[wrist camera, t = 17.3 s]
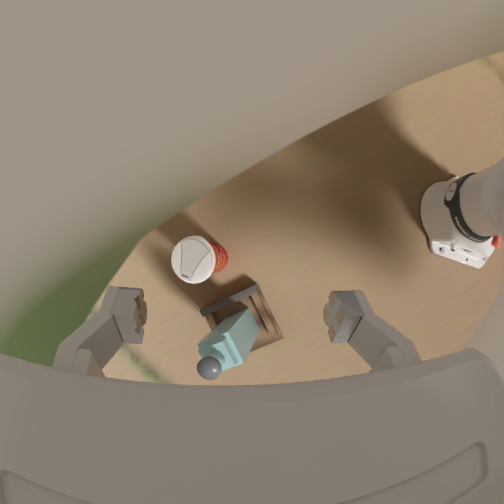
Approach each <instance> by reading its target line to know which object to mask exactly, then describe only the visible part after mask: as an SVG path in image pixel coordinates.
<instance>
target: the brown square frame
mask: <svg viewBox="0 0 504 504" xmlns="http://www.w3.org/2000/svg"><path fill="white" fill-rule="evenodd" d="M247 308H249V309H250V311H251V313H252V315H253V317H254V319H255V321H256V323H257V325H258V327H259V329H260V331H259V333H258V335H257V337H256V340H255V342H254V344H253V346H252V348H251V350H250V352H251V351H254V350H256V349H259V348H261V347H263V346H266V345H268V344H271V343H273V342H275V341H278V340H280V339H283V336H282V334H281V331H280V329H279V327H278V325H277V323H276V321H275V319H274V317H273V315H272V313H271V311H270V309H269V307H268V305H267V303H266V301H265V298H264V296H263V294H262V292H261V290H260V288H259V286H258V284H255V285H253V286H250V287H248V288H246V289H244V290H242V291H240V292H238V293H235V294H233V295H231V296H229V297H227V298H224V299H222V300H220V301H218V302H216V303H214V304H211V305H209V306H207V307H205V308H203V309H201V310H200V312H201V314H202V316H206V317H207V319H208V321H209V323H210V325H211V327H212V329H214V328H215V327H217V326H218V325H219V324H220V323H221V322H222V321H223V320H224V319H225V318H226V317H228V316H231V315H233V314H235V313H238V312H240V311H242V310H244V309H247Z"/></svg>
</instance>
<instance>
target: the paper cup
mask: <svg viewBox="0 0 504 504" xmlns="http://www.w3.org/2000/svg"><path fill="white" fill-rule="evenodd" d="M227 260H228V256H227V253H226V251H225V249H224V248H223V247H221V246H220V245H217V244H214V243H211V242H208V241H206V240H205V239H204V238H203V237H200V236H195V235H193V236H190V237H186V238H184V239H182V240H181V241H180V242H178V244H177V245H176V246H175V248H174V250H173V252H172V256H171V263H172V267H173V270H174V272H175V273H176V274H177V276H178V277H179V278H180V279H182V280H183V281H185V282H188V283H192V284H194V283H200V282H203V281H205V280H206V279H207V278H209V276H211V275H213V274H215V273H217V272H218V271H220V270H222V269H223V268H224V267H225V266H226V264H227Z"/></svg>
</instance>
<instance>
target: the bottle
mask: <svg viewBox="0 0 504 504" xmlns="http://www.w3.org/2000/svg"><path fill="white" fill-rule="evenodd" d="M259 331H260V329H259V327H258V325H257V323H256V321H255V319H254V317H253V315H252V313H251V311H250V309H249V308H247V309H244V310H242V311H240V312H238V313H235V314H233V315H231V316H228V317H226V318H225V319H224V320H223V321H222V322H221V323H220V324H219V325H218V326H217V327H215V328H214V329H213V330H212V331H211V332H210V333H209V334H208V335H207V336H206V337H205V338H203V339H202V340H201V341H200V342H199V343H198V344H197V345H198V347H199V350H198V352H199V354H200V356H201V357H202V359H201V360H200V361H199V362H198V364H197V371H198V373H199V375H200V376H201V377H203V378H204V379H207V380H213V379H215V378H217V377H218V375H219V374H220V372H221V371H224V370H227V369H229V368H232V367H235V366H238V365H240V364H243V363H244V362H245V360H246V358H247V356H248V354H249V352H250V350H251V348H252V346H253V344H254V342H255V340H256V337H257V335H258V333H259Z"/></svg>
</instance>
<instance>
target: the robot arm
mask: <svg viewBox="0 0 504 504" xmlns="http://www.w3.org/2000/svg"><path fill="white" fill-rule="evenodd" d="M421 219H422V223H423V226H424V229H425V231H426V233H427V235H428V237H429V244H430V249H431V252H432V253H434V254H436V255H439V256H442V257H445V258H448V259H451V260H454V261H457V262H459V263H462V264H465V265H468V266H471V267H473V268H477V269H478V268H481V267H482V266H483V265H484V263H485V262H486V261H487V259H488V257H489V256H490V255H491V254H492V252H493V250H494V249H495V247H496V248H499V247H500V241H501V240H502V243H503V245H504V158H503V159H502V160H500V161H499V162H497V163H496V164H494V165H492V166H491V167H488V168H486V169H484V170H482V171H480V172H478V173H469V174H467V175H465V176H463V177H458V176H456V177H453V178H451V179H450V180H448V181H442V182H437V183H434V184H432V185H431V186H430V187H429V188H428V189H427V190H426V192H425V193H424V195H423V198H422V202H421ZM439 248H441V251H439ZM483 258H484V259H483ZM143 298H144V292H143V289H141V288H128V287H114V286H109V287H108V288H107V291H106V293H105V296H104V299H103V302H102V305H101V307H100V310H99V313H98V314H95V315H93V316H92V317H91V318H90V319H89V320H87V321H86V322H85V323H84V324H83V325H81V326H80V327H79V328H78V329H77V330H75V331H74V332H73V333H72V334H71V335H70V336H68V337H67V338H66V339H65V340H64V341H63V342H62V343H60V345H59V347H58V350H57V353H56V356H55V359H54V362H53V365H52V367H48V366H44V365H40V364H36V363H31V362H27V361H24V360H21V359H17V358H13V357H10V356H7V355H4V354H0V504H504V375H503V374H502V372H501V370H500V369H499V367H498V366H497V365H496V363H495V362H494V361H493V360H491V359H490V358H488V357H487V356H486V355H484V354H483V353H482V352H480V351H478V350H476V349H475V348H467V349H464V350H461V351H458V352H454V353H451V354H448V355H444V356H441V357H437V358H433V359H430V360H426V361H421V358H420V356H419V354H418V352H417V350H416V348H415V346H414V344H413V342H412V341H411V340H409V339H408V338H407V337H405V336H404V335H403V334H401V333H400V332H399V331H398V330H396V329H395V328H394V327H392V326H391V325H390V324H388V323H387V322H386V321H384V320H383V319H382V318H380V317H379V316H378V315H377V316H375V314H374V312H373V310H372V308H371V306H370V304H369V302H368V300H367V298H366V296H365V294H364V292H363V291H362V290H352V291H332V292H331V293H330V294H329V297H328V298H329V302H328V303H326V304H325V307H324V311H323V317H324V322H325V324H326V325H327V326H328V327H329V330H328V334H329V337H330V340H331V343H341V342H348V344H349V345H350V346H351V347H352V348H353V349H354V350H355V351H356V352H357V353H358V354H359V355H360V356H361V357H362V358H363V359H364V360H365V361H366V362H367V363H368V364H369V365H370V366H371V367H372V369H371V370H370V371H369V373H365V374H359V375H352V376H346V377H339V378H331V379H323V380H315V381H305V382H294V383H281V384H263V385H182V384H165V383H152V382H141V381H131V380H123V379H115V378H107V377H105V375H104V373H103V372H102V369H103V367H104V366H105V365H106V364H107V363H108V362H109V360H110V359H111V358H112V357H113V356H114V355H115V353H116V352H117V351H118V350H119V349H120V347H121V346H122V345H123V343H134V344H142V340H143V335H144V329H143V325H144V324H146V319H147V306H146V302H145V301H144V300H143Z"/></svg>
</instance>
